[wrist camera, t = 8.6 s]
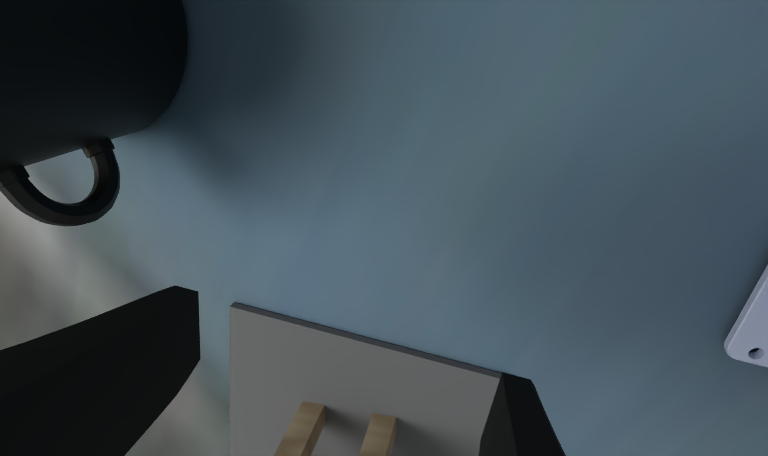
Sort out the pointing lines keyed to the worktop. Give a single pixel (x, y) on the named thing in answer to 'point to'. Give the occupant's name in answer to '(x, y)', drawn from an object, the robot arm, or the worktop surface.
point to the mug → (81, 90)
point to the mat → (348, 389)
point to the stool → (310, 423)
